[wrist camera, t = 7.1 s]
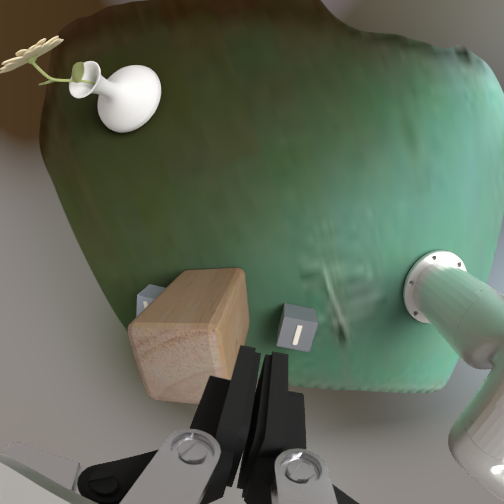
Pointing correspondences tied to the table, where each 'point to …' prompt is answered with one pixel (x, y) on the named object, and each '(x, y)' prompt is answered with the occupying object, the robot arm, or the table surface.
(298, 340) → the charcoal block marked 1
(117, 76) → the flower in vase
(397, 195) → the table surface
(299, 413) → the robot arm
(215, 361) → the wooden block
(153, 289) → the slate block marked 7
